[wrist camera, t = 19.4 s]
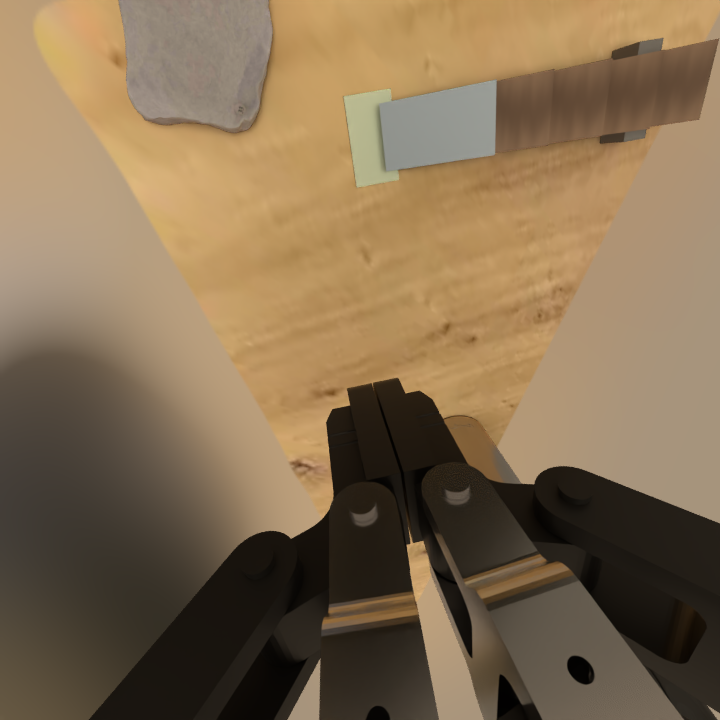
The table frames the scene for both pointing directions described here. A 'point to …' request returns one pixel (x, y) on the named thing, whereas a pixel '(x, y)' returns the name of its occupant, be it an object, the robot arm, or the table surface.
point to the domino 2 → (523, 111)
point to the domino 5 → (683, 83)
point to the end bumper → (624, 53)
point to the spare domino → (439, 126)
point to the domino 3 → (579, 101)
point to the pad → (368, 137)
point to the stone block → (197, 60)
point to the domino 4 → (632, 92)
